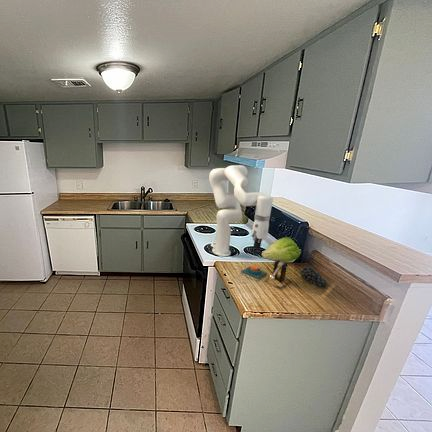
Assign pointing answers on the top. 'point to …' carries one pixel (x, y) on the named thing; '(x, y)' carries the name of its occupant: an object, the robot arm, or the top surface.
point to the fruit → (313, 276)
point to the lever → (279, 266)
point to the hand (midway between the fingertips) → (256, 247)
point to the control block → (253, 272)
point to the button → (254, 268)
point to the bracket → (283, 271)
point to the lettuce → (282, 250)
